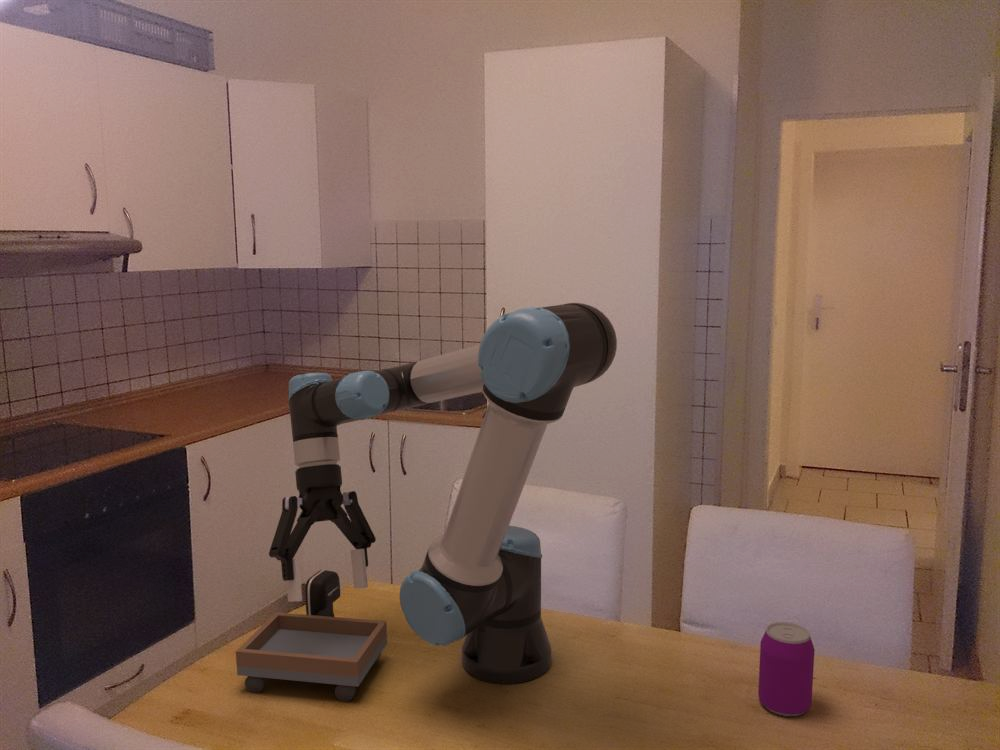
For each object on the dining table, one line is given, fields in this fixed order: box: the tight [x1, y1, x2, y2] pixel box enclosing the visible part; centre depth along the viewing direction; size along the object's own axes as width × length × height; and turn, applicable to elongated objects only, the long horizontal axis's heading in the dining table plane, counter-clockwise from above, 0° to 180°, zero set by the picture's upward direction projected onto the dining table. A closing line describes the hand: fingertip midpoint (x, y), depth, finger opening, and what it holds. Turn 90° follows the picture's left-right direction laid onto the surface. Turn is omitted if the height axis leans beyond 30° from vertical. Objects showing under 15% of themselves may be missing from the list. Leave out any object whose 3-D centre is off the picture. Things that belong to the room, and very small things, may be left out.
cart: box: [235, 611, 388, 703], centre depth 136 cm, size 20×14×7 cm
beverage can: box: [757, 621, 815, 717], centre depth 126 cm, size 8×8×12 cm
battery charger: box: [304, 569, 341, 617], centre depth 150 cm, size 7×4×11 cm, turn 162°
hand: (329, 594), depth 137 cm, fingers open, 13 cm apart
